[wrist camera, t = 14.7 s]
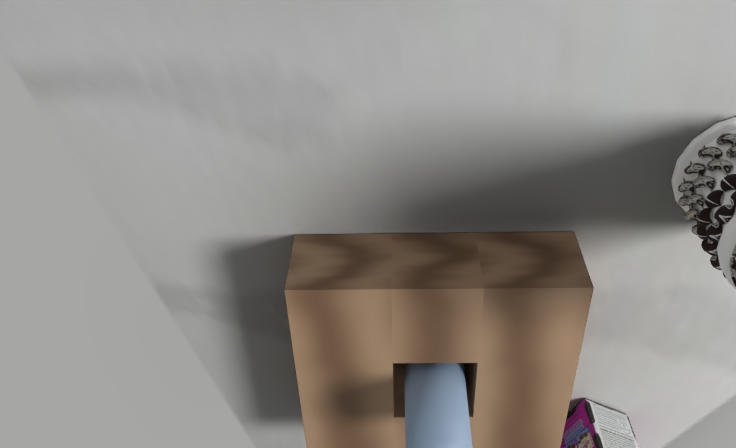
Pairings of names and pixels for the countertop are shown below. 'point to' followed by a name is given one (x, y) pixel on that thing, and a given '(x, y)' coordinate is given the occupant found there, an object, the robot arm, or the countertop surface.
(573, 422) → the candy bar box
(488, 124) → the countertop surface
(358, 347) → the socket block
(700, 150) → the decorative candle
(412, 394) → the peg
